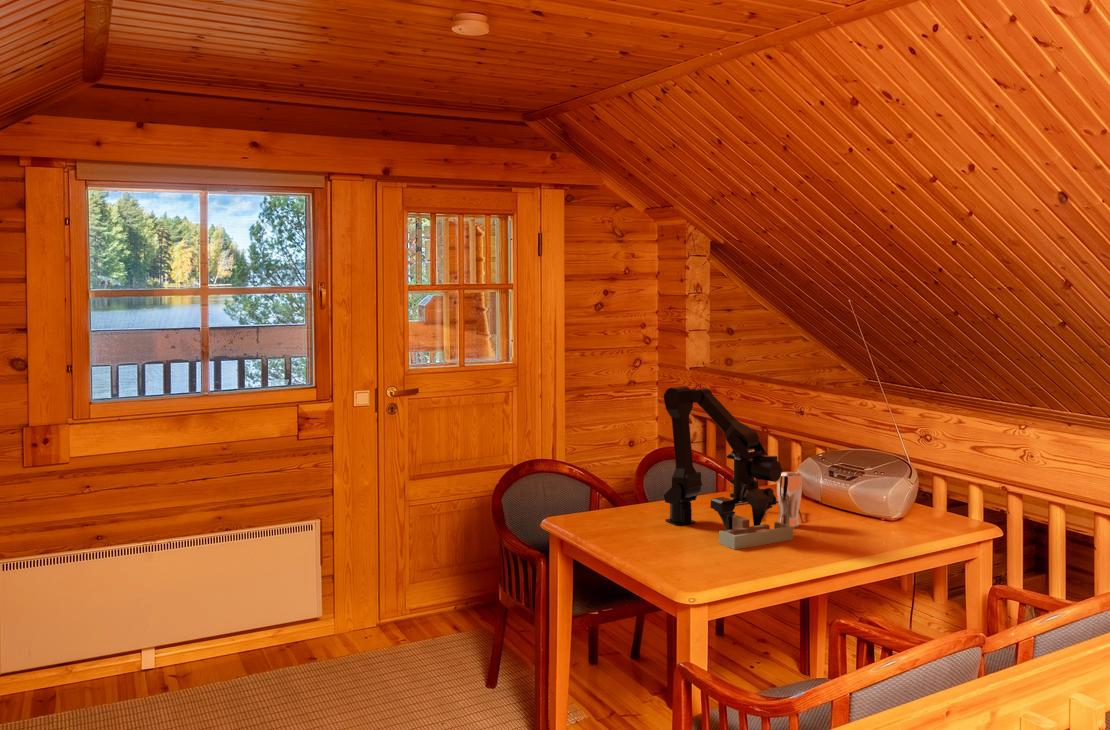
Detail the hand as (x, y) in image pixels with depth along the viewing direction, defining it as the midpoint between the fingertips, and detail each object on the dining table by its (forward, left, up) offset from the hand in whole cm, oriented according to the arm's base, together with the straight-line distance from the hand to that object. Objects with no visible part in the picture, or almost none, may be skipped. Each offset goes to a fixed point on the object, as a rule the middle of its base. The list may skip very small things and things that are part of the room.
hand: (743, 532), depth 273 cm
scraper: (-2, 0, -1) cm, 2 cm away
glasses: (-12, +23, -2) cm, 26 cm away
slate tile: (+5, -4, -2) cm, 6 cm away
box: (+6, 0, -1) cm, 6 cm away
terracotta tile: (+5, +4, -2) cm, 6 cm away
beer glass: (-3, +19, -2) cm, 19 cm away
